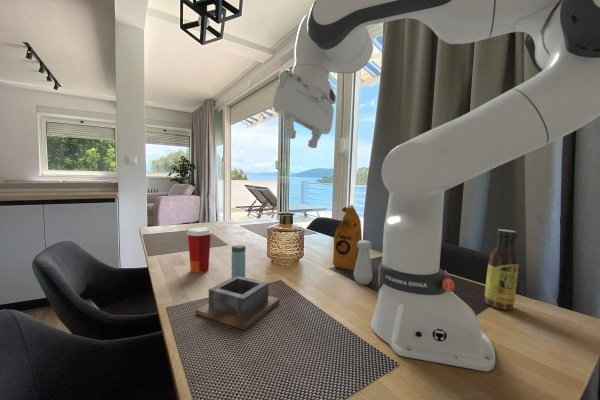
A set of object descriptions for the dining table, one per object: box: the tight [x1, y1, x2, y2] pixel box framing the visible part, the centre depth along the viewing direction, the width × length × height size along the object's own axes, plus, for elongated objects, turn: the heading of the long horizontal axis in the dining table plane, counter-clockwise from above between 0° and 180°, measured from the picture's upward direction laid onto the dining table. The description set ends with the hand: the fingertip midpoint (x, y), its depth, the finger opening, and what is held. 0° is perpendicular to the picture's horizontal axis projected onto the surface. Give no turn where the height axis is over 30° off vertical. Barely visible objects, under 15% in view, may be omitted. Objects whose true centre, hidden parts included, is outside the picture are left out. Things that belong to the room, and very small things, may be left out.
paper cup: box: [186, 227, 213, 274], centre depth 88 cm, size 8×8×14 cm
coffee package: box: [332, 204, 363, 271], centre depth 98 cm, size 10×12×22 cm
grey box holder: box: [195, 276, 280, 331], centre depth 64 cm, size 14×14×6 cm
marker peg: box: [231, 244, 247, 278], centre depth 79 cm, size 4×4×11 cm
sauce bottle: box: [484, 228, 520, 311], centre depth 68 cm, size 7×6×20 cm
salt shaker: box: [353, 239, 373, 286], centre depth 82 cm, size 6×6×13 cm
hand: (301, 143), depth 64 cm, fingers open, 8 cm apart
